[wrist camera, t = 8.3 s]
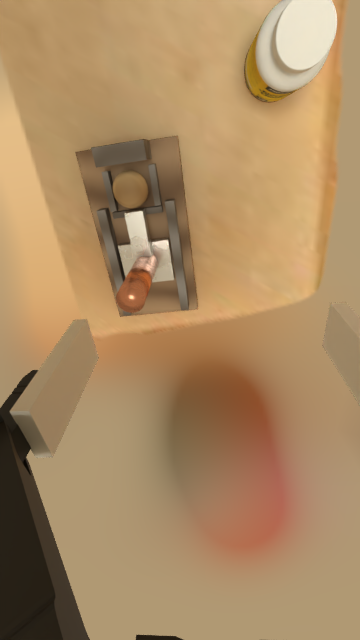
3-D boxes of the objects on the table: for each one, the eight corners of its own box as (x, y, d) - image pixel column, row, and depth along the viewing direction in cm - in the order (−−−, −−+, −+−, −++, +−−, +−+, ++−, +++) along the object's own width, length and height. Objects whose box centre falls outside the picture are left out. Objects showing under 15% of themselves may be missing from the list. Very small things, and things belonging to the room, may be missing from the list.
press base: (78, 152, 38) (61, 152, 33) (177, 136, 37) (174, 134, 32) (121, 313, 50) (113, 330, 45) (197, 305, 49) (197, 323, 44)
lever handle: (112, 211, 40) (78, 235, 29) (163, 204, 40) (149, 226, 28) (128, 281, 46) (105, 326, 34) (174, 276, 45) (166, 320, 33)
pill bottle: (238, 100, 35) (254, 80, 25) (250, 25, 31) (274, -34, 21) (293, 106, 35) (332, 88, 25) (310, 31, 31) (363, -23, 21)
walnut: (113, 171, 38) (104, 174, 34) (146, 166, 38) (141, 168, 34) (121, 207, 40) (113, 213, 36) (153, 203, 40) (148, 208, 36)
